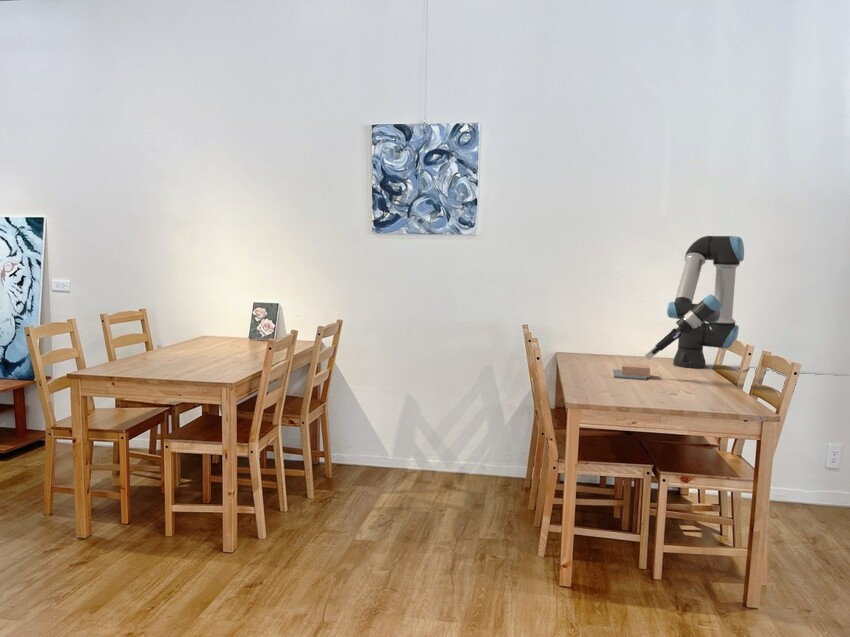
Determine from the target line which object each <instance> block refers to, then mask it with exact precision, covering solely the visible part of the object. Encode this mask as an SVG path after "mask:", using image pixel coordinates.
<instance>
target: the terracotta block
mask: <svg viewBox="0 0 850 637" xmlns="http://www.w3.org/2000/svg"><path fill="white" fill-rule="evenodd" d="M620 367H621V368H620V370H621V375H627V376H640V377H646V378H650V377H651V367H650V365H649V364H643V363H642V364H641V363H631V362H630V363H629V362H628V363H627V362H621V366H620Z"/></svg>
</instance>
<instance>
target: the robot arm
mask: <svg viewBox="0 0 850 637" xmlns="http://www.w3.org/2000/svg"><path fill="white" fill-rule="evenodd" d="M744 259H745V247H744V241H743V239H742V238H741V237H740V236H733V235H705V236H702V237H700V238H698V239H696V240H695V241H693V243H692V244H691V245H689V247H688V248H687V250H686V252H685V255H684V261H685V263H684V267H683V271H682V274H681V279H680V280H679V285H678V289H677V291H676V296H675V299H674V301H670V302H668V304H667V308H666V313H667V317H668V318H669V319H670V318H671V319H674V320H675V319H676V322H675V324H676V325H677V327H676V328H675V327H674V328H673V329H671V331H669V333H668V334H666V335H665V336H664V337H663V338H662V339H661V340H659V341H658V342H657V343H656V344H655V346H654V347H653V348H651V349H650V350H649V351H648V352H646V353H645V354H644V357H645V358H646V359H647V360H648V361H649V360H651V359H652V358H654V356H656V355H657V354H658V353H659V352H662V351H663V350H664V349H666V348H667V347H669V345H671V344H672V343H673V342H675V341H676V340H677V341H678V345H677V350H676V353H675V355H674V358H673V360H672V361H673V362H672V364H673V365H674V366H676V367H680V368H681V367H682V368H690V369H703V368H706V366H707V365H706V364H707V363H706V359H705V355H704V351H703V350H704V347H709V348H719V349H728V348H729V347H730V346H731V345H732V343H733V342H734V340H736V341H737V339H738V335H739V329H740V328H739V325H737V324H736V320H735V319H734V318H733V315H734V314H733V312H734V296H735V285H736V270H737V268H738V267H740V263H741V262H743V261H744ZM707 261H712V264H713V266H714V267H715V282H714V295H713V294H709V295H707V296H706V297H704V298H703V299H701V301H699V302H698V303H693V300H694V297H695V294H696V290H697V286H698V282H699V279H700V275H701V271H702V267H703V266H704V265H705V264H706V262H707Z"/></svg>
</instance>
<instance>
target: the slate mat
mask: <svg viewBox="0 0 850 637" xmlns="http://www.w3.org/2000/svg"><path fill="white" fill-rule="evenodd" d="M613 378H615V379H624V380H625V379H626V380H637V381H638V380H639V381H647V378H648V377H640V376H627V375H621V369H613Z"/></svg>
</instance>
